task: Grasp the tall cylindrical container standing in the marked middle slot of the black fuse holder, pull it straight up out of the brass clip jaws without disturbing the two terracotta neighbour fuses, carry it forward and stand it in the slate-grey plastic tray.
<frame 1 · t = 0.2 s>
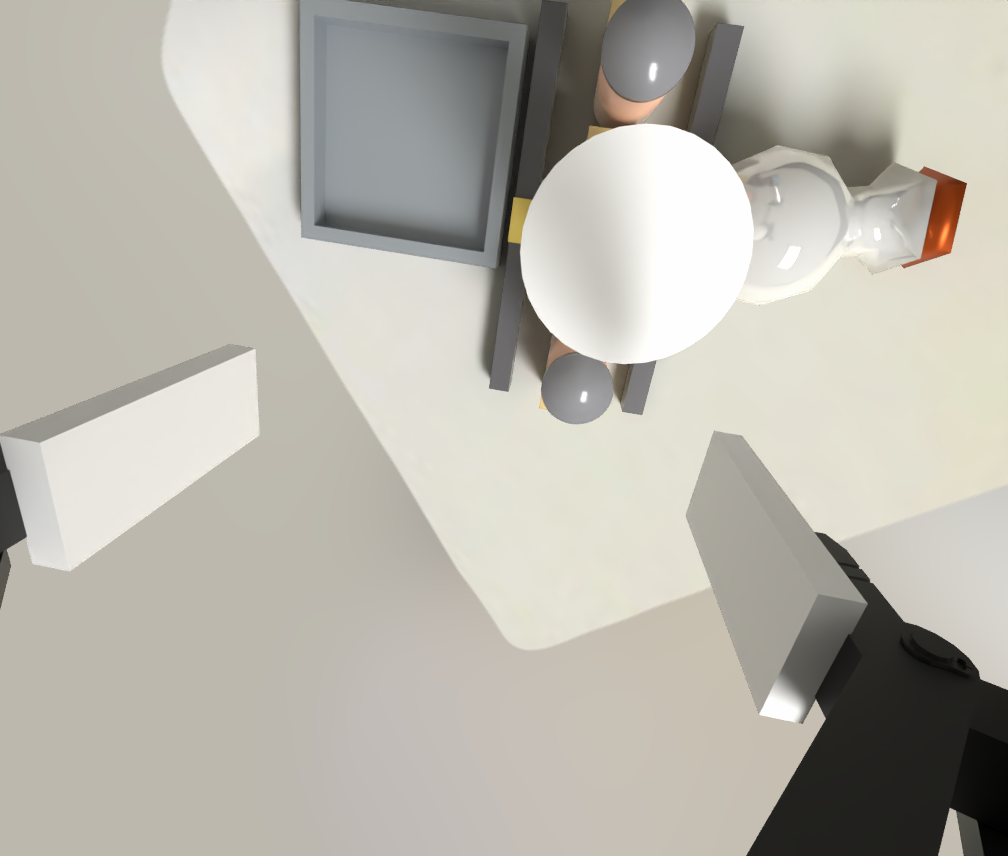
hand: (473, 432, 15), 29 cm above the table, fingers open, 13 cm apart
tray: (413, 145, 39), on the table
potion bottle: (786, 221, 38), on the table
cylindrical container: (597, 232, 40), resting in fuse holder
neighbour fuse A: (622, 102, 36), resting in fuse holder
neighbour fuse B: (575, 342, 43), resting in fuse holder
fuse holder: (597, 232, 39), on the table
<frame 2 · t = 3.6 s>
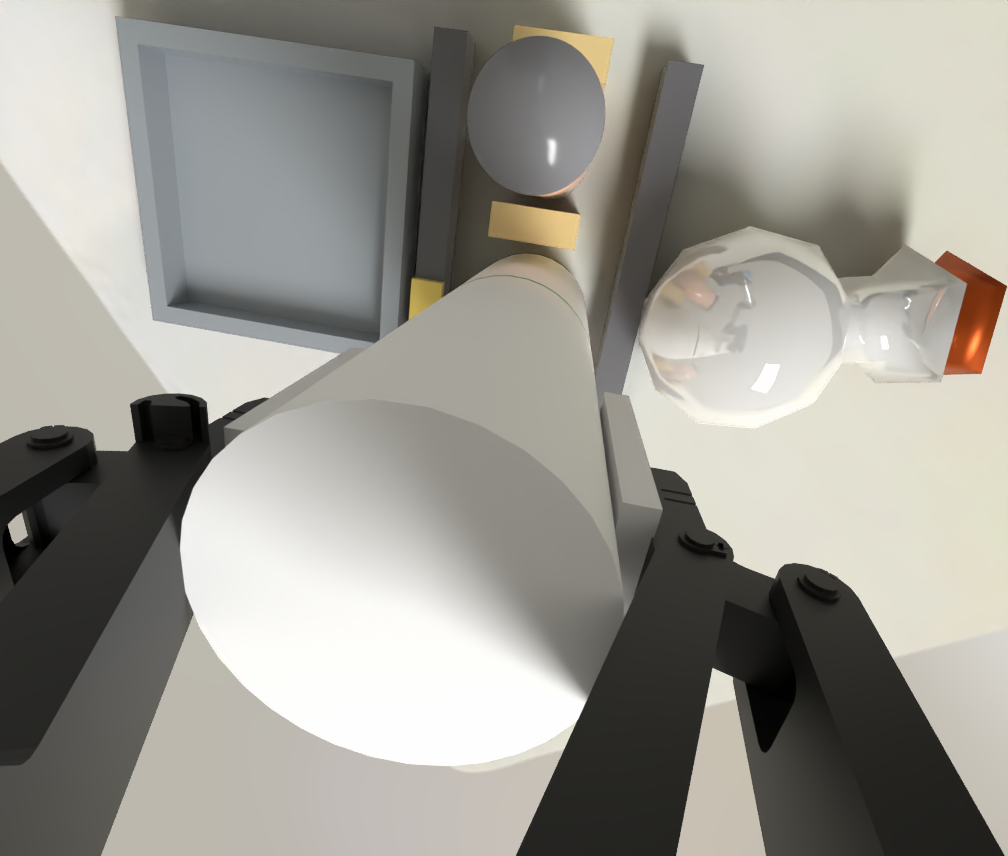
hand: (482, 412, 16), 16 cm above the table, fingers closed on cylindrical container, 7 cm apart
tray: (290, 205, 30), on the table
potion bottle: (766, 307, 30), on the table
cylindrical container: (525, 315, 31), resting in fuse holder, touching gripper
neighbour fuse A: (551, 157, 28), resting in fuse holder
fuse holder: (525, 316, 31), on the table
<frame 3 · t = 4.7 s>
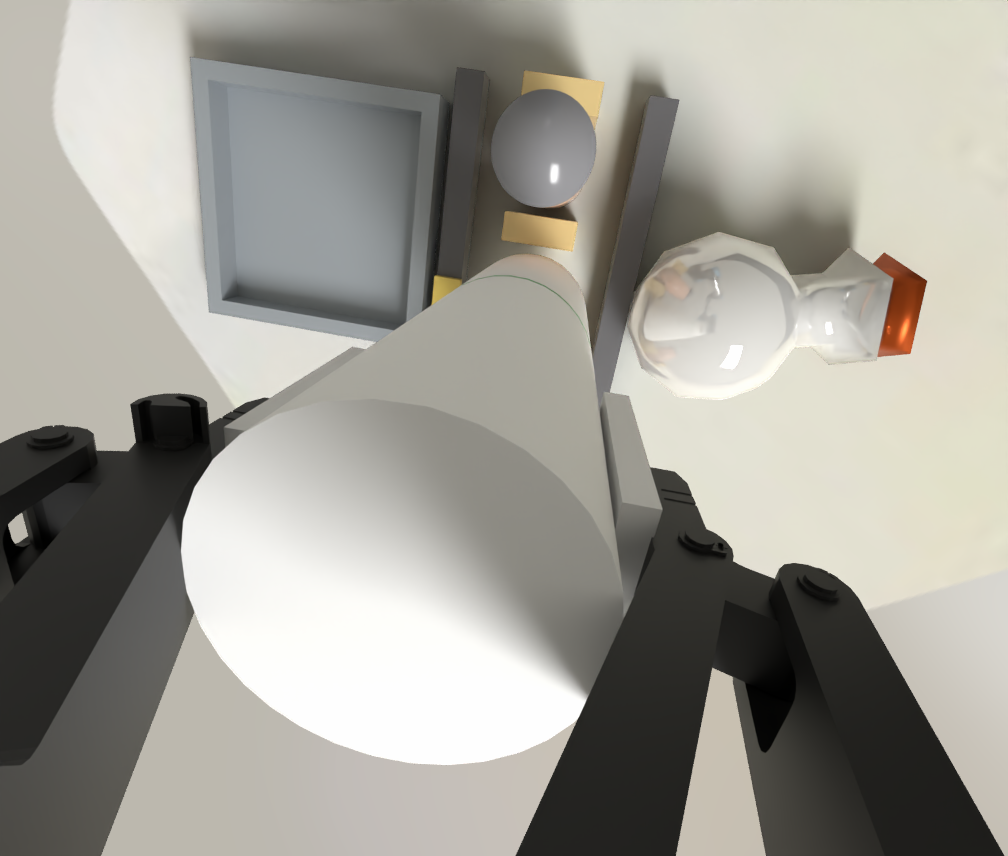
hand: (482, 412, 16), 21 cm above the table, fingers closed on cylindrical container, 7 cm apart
tray: (329, 214, 35), on the table
potion bottle: (737, 301, 35), on the table
cylindrical container: (525, 315, 31), point 5 cm above the table, touching gripper
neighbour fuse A: (553, 174, 33), resting in fuse holder
fuse holder: (531, 309, 36), on the table
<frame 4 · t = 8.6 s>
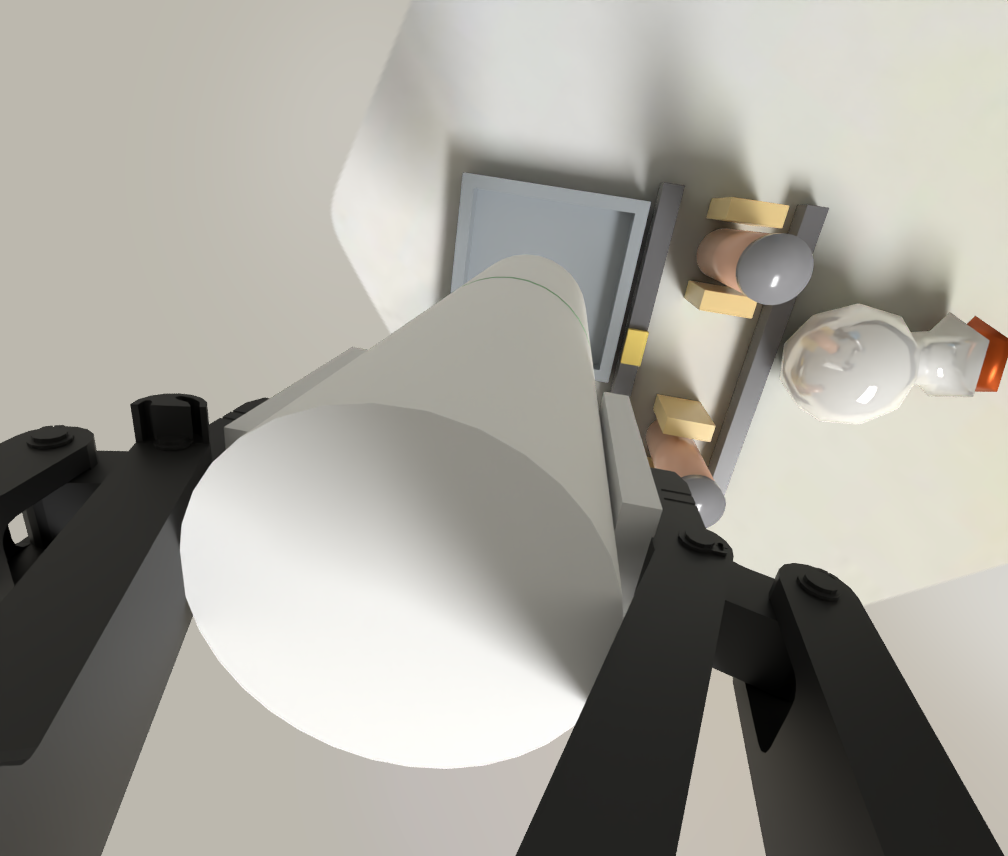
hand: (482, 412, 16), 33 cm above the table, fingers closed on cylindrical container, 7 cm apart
tray: (541, 279, 46), on the table
potion bottle: (855, 346, 46), on the table
cylindrical container: (525, 316, 31), point 17 cm above the table, touching gripper
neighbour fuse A: (721, 253, 44), resting in fuse holder
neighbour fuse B: (666, 436, 51), resting in fuse holder
fuse holder: (692, 351, 47), on the table
when the fingers open (18 cm above the table, at t = 11.5 s): cylindrical container drops 1 cm, resting on tray.
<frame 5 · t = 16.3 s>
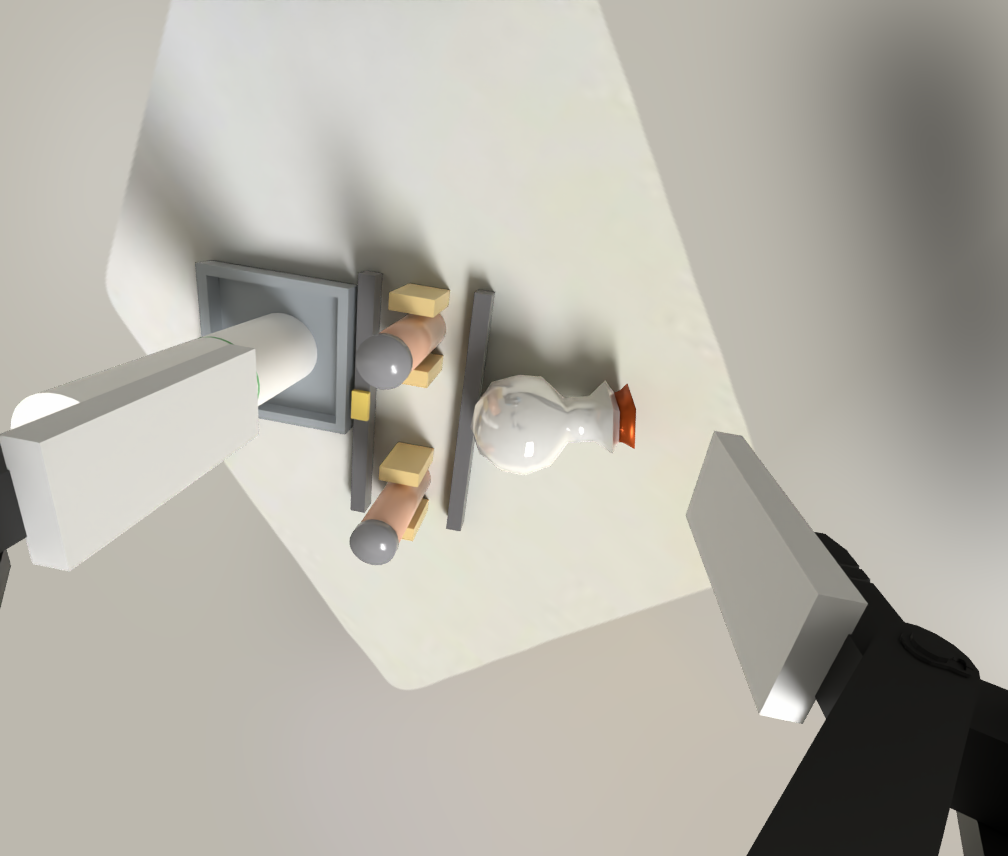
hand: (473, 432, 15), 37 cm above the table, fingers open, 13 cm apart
tray: (286, 346, 54), on the table
potion bottle: (553, 403, 53), on the table
cylindrical container: (284, 347, 54), resting on tray
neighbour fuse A: (426, 327, 52), resting in fuse holder
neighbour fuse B: (413, 477, 58), resting in fuse holder
fuse holder: (419, 407, 55), on the table
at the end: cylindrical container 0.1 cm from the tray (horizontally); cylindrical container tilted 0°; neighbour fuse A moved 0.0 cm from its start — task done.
